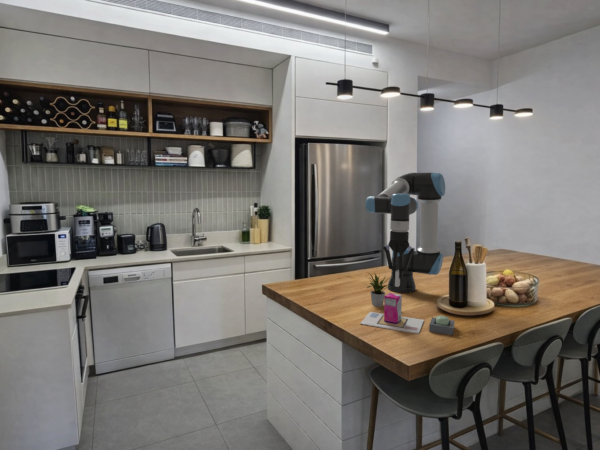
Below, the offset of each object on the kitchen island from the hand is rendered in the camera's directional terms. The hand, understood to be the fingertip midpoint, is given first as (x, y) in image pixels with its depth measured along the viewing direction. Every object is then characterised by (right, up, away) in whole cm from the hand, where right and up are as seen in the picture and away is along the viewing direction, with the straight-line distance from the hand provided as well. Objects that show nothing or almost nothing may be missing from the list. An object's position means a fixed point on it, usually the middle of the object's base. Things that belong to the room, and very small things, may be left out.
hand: (397, 285), depth 170 cm
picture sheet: (-1, -16, +3) cm, 16 cm away
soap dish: (+17, -17, -5) cm, 25 cm away
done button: (+17, -17, -5) cm, 25 cm away
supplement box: (-1, -16, +3) cm, 16 cm away
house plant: (-5, -13, +27) cm, 30 cm away
